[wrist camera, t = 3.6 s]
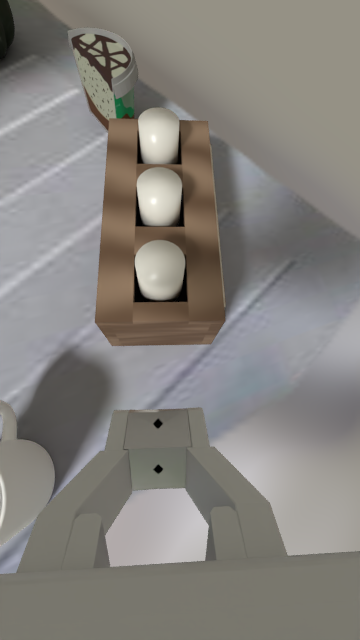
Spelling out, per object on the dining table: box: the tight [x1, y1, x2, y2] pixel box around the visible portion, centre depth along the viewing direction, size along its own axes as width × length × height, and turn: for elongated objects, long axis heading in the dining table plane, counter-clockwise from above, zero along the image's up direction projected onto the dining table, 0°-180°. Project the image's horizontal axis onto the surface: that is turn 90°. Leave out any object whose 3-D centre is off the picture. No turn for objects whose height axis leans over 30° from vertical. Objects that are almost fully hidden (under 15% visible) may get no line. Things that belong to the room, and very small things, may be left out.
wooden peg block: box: [95, 118, 225, 346], centre depth 35 cm, size 26×12×9 cm, turn 2°
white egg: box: [135, 240, 185, 302], centre depth 27 cm, size 4×4×5 cm
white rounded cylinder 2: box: [137, 167, 182, 227], centre depth 30 cm, size 4×4×5 cm
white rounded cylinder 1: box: [138, 107, 179, 165], centre depth 33 cm, size 4×4×5 cm
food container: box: [67, 28, 138, 133], centre depth 42 cm, size 12×6×10 cm, turn 36°
